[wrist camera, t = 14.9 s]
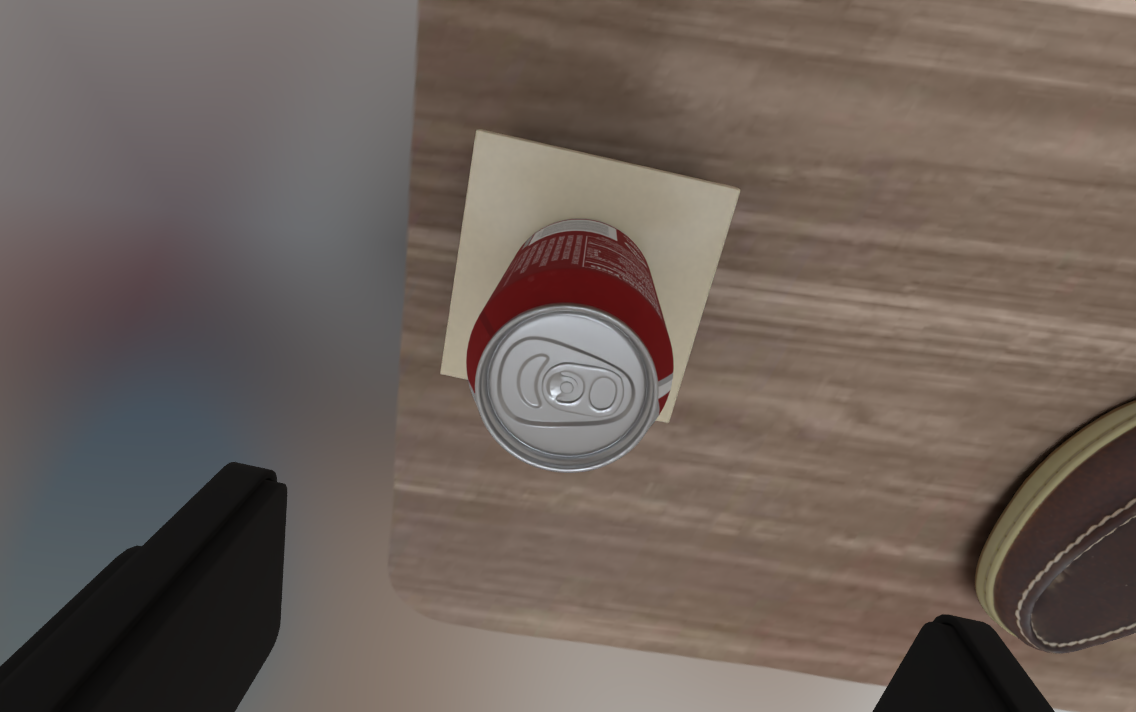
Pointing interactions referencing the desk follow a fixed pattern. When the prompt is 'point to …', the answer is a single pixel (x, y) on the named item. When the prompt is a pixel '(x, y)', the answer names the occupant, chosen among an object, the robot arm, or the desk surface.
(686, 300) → the navy box with lid
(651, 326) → the soda can
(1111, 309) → the desk surface
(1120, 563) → the boat shoe
